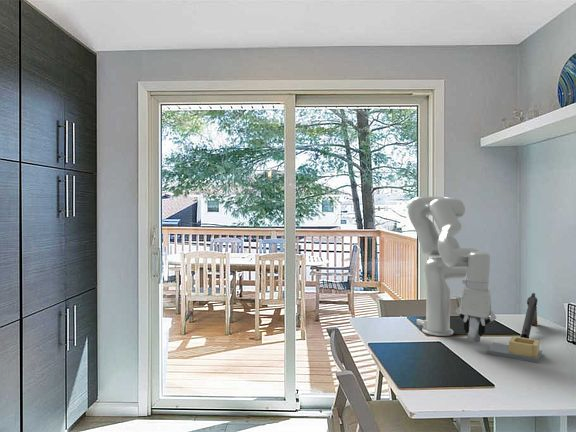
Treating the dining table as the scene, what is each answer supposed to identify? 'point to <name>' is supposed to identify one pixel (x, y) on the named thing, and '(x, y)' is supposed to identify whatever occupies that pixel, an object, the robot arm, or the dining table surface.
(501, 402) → the dining table surface
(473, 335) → the pipe stub
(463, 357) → the dining table surface
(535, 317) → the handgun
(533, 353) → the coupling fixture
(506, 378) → the dining table surface
